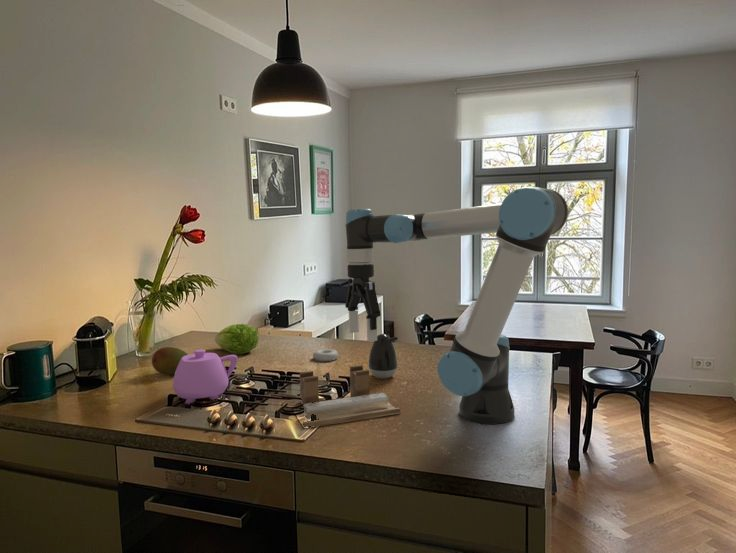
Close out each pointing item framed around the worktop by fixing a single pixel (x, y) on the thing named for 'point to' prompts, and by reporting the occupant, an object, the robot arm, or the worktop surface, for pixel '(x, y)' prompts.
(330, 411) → the rail
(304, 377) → the cradle posts
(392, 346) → the pump dispenser
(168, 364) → the fruit
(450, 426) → the worktop surface
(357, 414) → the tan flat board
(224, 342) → the lettuce
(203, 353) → the teapot
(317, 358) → the donut
